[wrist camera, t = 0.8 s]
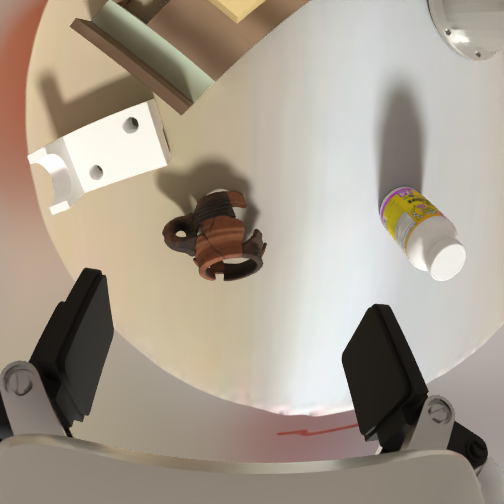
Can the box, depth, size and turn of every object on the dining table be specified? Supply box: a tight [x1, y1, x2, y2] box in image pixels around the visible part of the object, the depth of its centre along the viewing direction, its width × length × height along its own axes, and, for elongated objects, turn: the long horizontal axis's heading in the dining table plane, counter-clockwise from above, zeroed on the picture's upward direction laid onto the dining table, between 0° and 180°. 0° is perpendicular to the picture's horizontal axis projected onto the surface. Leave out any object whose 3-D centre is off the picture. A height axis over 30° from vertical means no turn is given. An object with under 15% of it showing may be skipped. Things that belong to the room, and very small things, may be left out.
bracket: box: [27, 99, 172, 215], centre depth 29 cm, size 13×7×8 cm, turn 103°
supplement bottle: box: [380, 187, 466, 281], centre depth 33 cm, size 7×7×13 cm
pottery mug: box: [162, 191, 267, 281], centre depth 37 cm, size 12×10×8 cm
